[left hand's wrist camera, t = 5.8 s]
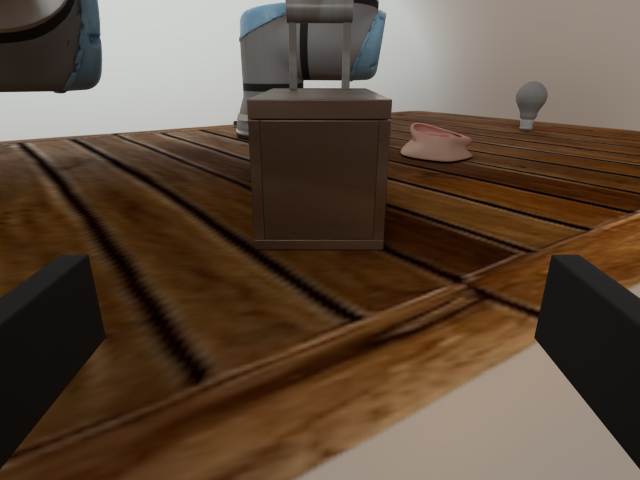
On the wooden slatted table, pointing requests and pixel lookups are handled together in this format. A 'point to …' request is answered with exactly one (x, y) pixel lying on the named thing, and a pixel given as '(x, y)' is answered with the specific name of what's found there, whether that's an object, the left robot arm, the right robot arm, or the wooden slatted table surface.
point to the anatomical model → (436, 144)
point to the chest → (319, 183)
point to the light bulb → (530, 103)
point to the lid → (319, 103)
